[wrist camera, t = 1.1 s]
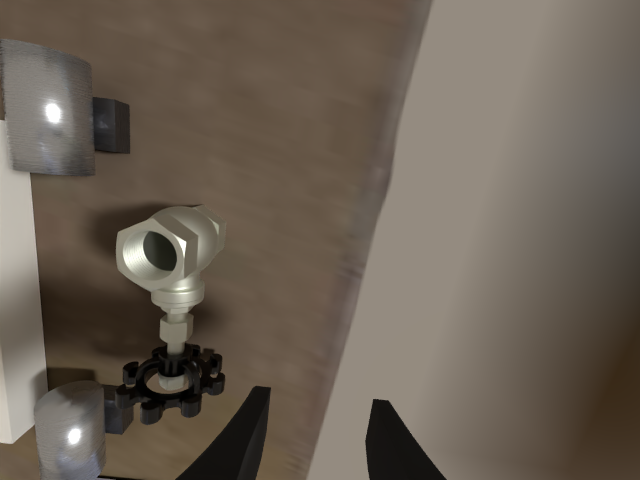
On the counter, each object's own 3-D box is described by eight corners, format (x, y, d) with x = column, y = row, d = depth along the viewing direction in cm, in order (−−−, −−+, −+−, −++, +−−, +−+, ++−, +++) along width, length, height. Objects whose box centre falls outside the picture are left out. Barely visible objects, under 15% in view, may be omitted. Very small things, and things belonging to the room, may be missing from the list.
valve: (156, 194, 20) (151, 349, 23) (80, 204, 14) (86, 418, 17) (252, 208, 21) (237, 360, 23) (220, 224, 14) (205, 432, 17)
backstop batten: (49, 410, 24) (12, 443, 21) (24, 408, 24) (-17, 440, 21) (25, 124, 19) (-27, 115, 16) (-6, 120, 19) (-65, 110, 16)
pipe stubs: (133, 435, 25) (87, 499, 20) (79, 429, 24) (19, 493, 20) (129, 79, 19) (61, 46, 14) (58, 70, 19) (-36, 33, 14)
